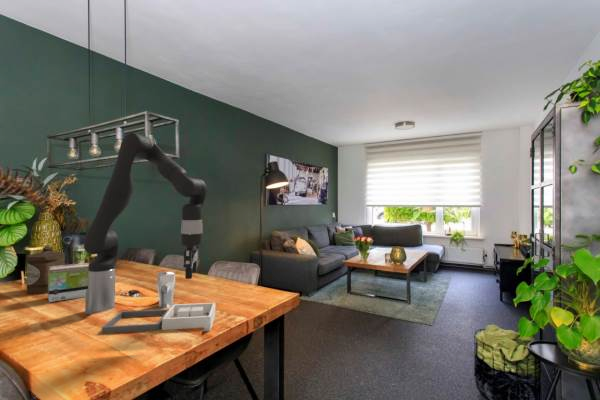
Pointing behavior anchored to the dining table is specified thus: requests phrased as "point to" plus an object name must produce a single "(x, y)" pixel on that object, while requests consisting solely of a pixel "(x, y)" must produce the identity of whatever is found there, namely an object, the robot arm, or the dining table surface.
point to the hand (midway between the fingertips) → (191, 275)
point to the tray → (131, 328)
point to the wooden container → (41, 269)
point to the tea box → (67, 281)
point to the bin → (189, 321)
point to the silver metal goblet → (166, 288)
